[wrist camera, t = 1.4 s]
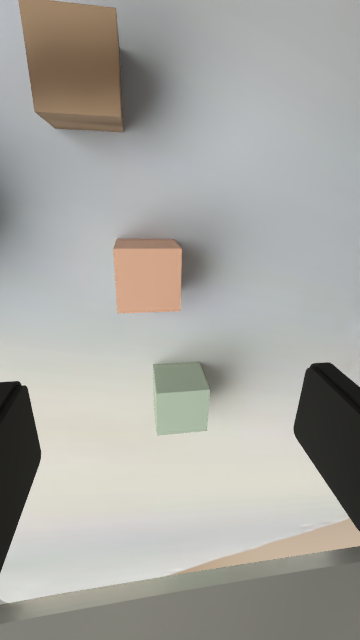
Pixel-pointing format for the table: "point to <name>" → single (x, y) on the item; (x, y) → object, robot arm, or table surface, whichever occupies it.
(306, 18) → the table surface
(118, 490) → the table surface
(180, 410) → the sage block
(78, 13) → the walnut block
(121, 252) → the terracotta block
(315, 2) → the table surface
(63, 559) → the table surface
